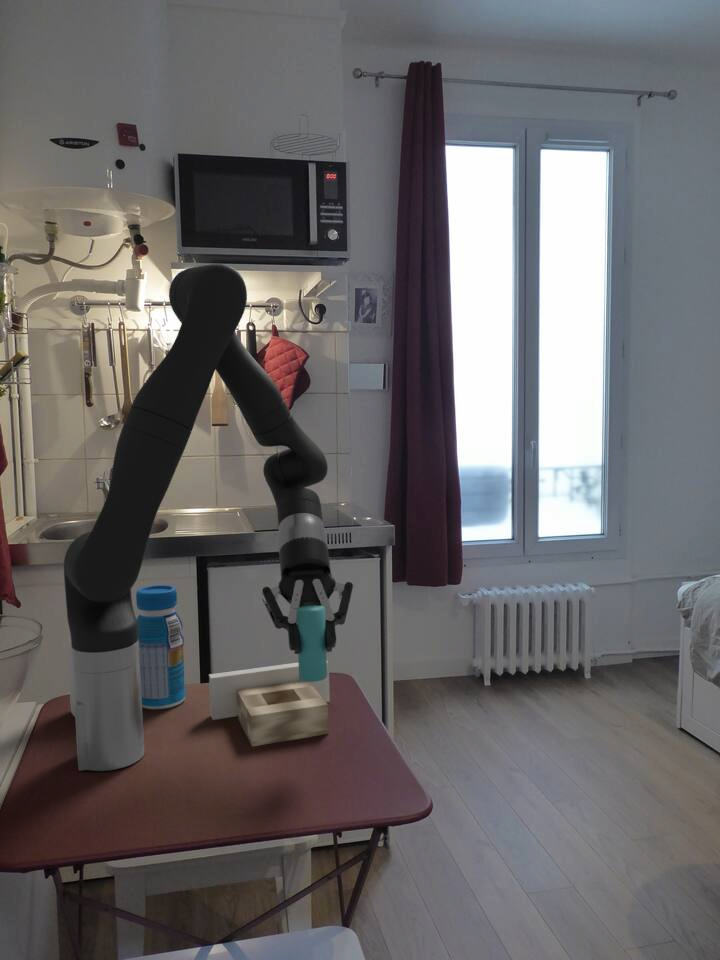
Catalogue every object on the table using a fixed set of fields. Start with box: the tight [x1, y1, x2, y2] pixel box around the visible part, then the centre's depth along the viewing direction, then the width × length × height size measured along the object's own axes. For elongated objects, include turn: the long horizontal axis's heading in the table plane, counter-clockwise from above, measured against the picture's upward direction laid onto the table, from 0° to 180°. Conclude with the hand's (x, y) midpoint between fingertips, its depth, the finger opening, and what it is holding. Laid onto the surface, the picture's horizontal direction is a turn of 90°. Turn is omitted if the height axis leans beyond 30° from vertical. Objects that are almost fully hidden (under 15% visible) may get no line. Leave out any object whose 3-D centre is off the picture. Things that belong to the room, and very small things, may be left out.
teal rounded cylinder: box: [297, 605, 328, 682], centre depth 113 cm, size 4×4×10 cm
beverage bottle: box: [135, 584, 186, 710], centre depth 136 cm, size 8×8×20 cm
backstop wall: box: [208, 660, 331, 721], centre depth 133 cm, size 20×2×7 cm, turn 109°
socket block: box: [237, 680, 330, 747], centre depth 126 cm, size 12×12×5 cm
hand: (313, 649), depth 111 cm, fingers closed on teal rounded cylinder, 4 cm apart
